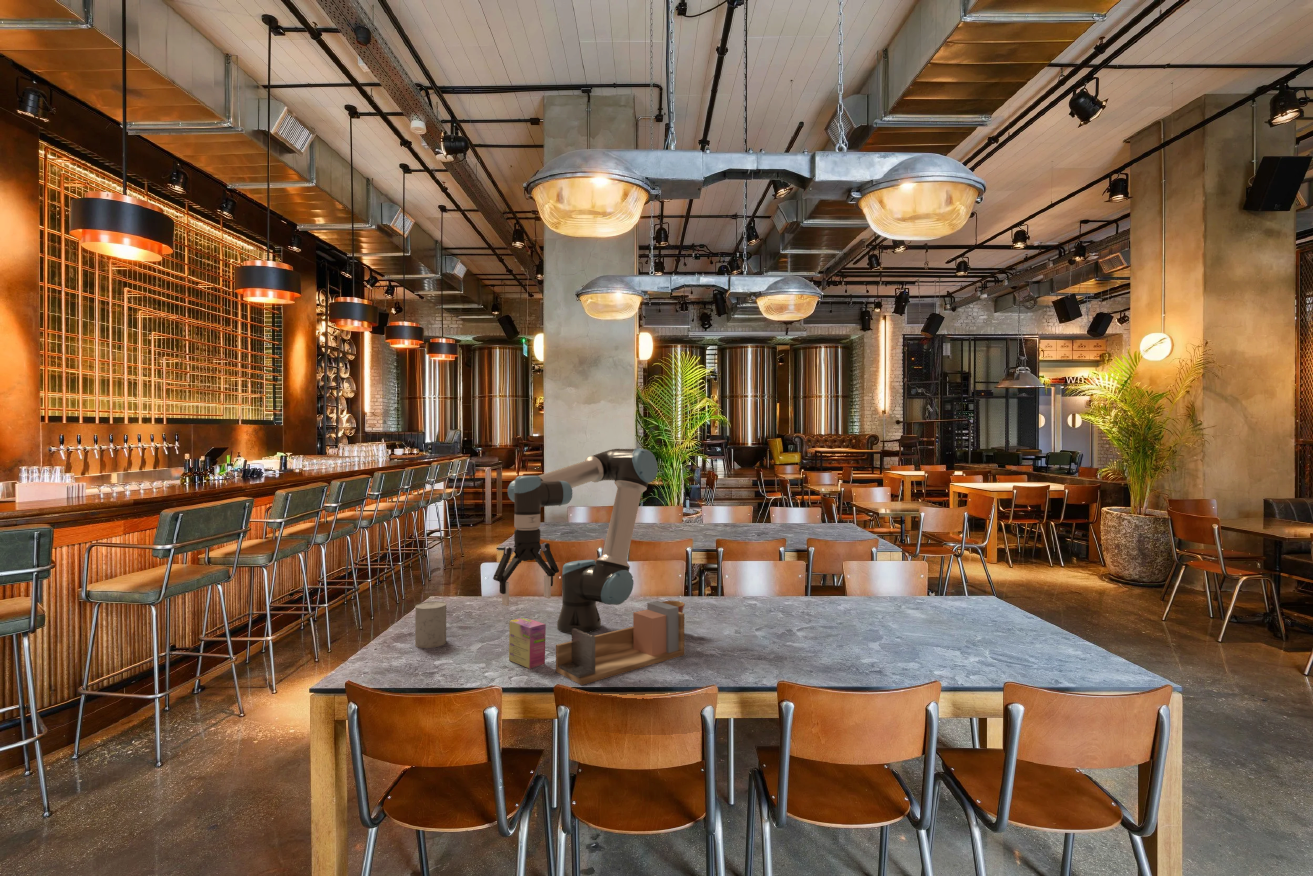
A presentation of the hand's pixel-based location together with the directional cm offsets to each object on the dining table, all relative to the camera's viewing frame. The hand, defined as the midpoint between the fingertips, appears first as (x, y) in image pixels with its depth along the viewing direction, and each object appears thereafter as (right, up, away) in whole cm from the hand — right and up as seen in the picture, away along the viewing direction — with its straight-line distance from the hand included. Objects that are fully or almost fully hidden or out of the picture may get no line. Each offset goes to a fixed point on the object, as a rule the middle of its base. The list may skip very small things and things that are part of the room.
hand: (526, 601), depth 183 cm
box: (0, -18, 0) cm, 18 cm away
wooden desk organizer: (+28, -18, -1) cm, 33 cm away
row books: (+38, -16, +7) cm, 42 cm away
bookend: (+16, -16, -11) cm, 25 cm away
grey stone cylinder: (-35, -18, +18) cm, 43 cm away
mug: (+43, -18, +25) cm, 53 cm away
